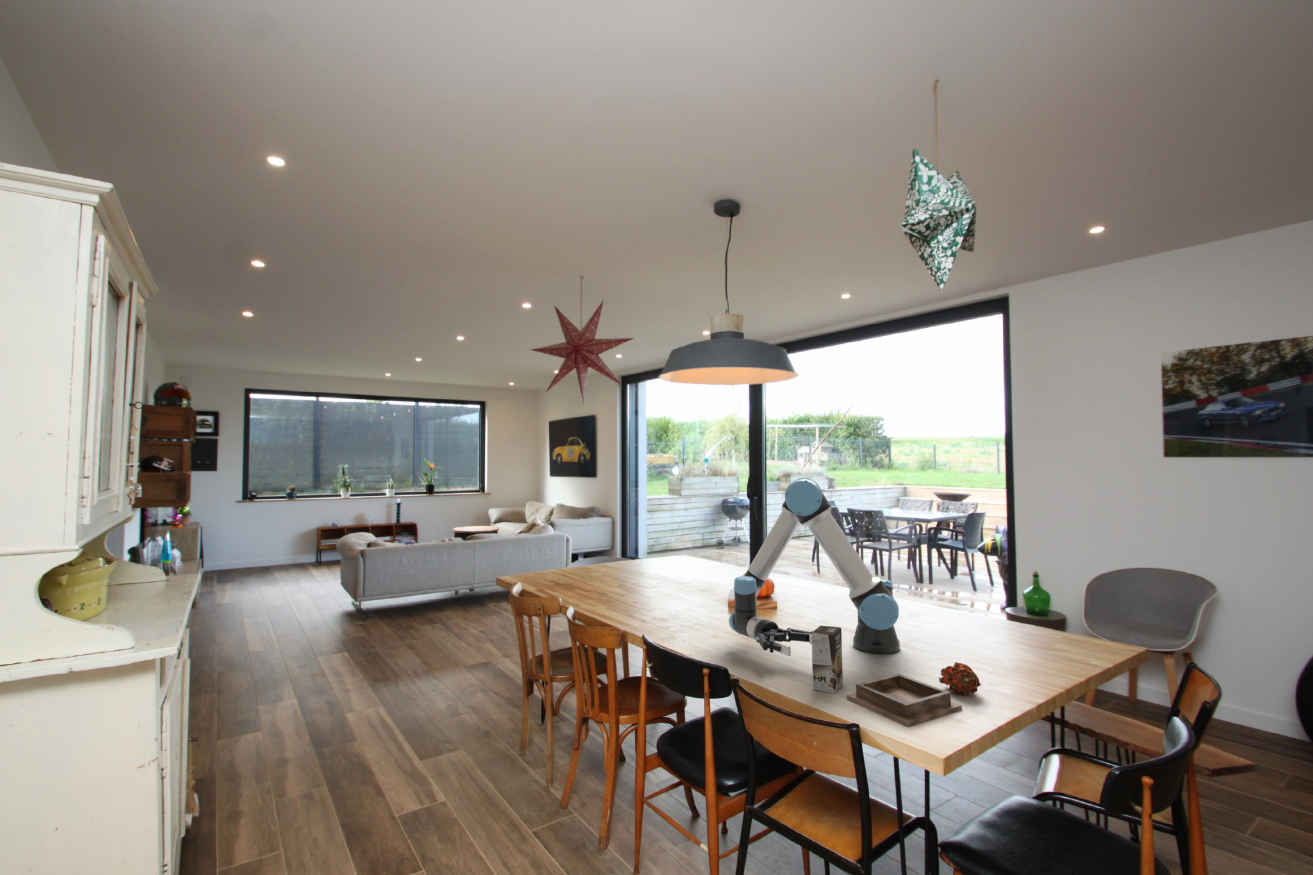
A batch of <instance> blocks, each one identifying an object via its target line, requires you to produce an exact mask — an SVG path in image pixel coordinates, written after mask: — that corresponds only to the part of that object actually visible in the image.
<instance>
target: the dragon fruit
mask: <svg viewBox="0 0 1313 875" xmlns="http://www.w3.org/2000/svg"><path fill="white" fill-rule="evenodd" d="M940 676H942V677H938V679H939V680H938V681H939V683H940V684H944V685H946V686H949V687H948V689H949V691H950V693H959V694H960V695H963V696H969V695H970V694H975V693H977V692H978V688H979V687H980V686H982V683H980V679H979V676H977V673H975V672H974V670H973V669H972V668H971V667H970V666H969V665H968V664H964V663H962V662H957V661H955V662H954V664H953V665H952V666H951V665H949V666H948V665H947V666H946V667H945V668H942V669H941V670H940Z"/></svg>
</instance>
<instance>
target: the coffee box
mask: <svg viewBox="0 0 1313 875" xmlns="http://www.w3.org/2000/svg"><path fill="white" fill-rule="evenodd" d="M812 631H813V632H812V644H811V662H812V663H811V664H812V665H811V666H812V667H811V668H812V669H811V670H812V690H815V691H819V692H825V693H829V694H835V693H836V692H837V690H839V689H840V687H842V685H843V684H844V677H843V673H844V670H843V646H842V645H843V642H842V640H843V639H842V638H843V637H842V627H839V626H832V625H830V626H829V625H819V626H818V627H817V628H815V629H814V630H812Z"/></svg>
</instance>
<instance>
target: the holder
mask: <svg viewBox="0 0 1313 875" xmlns="http://www.w3.org/2000/svg"><path fill="white" fill-rule="evenodd" d="M951 694H952V693H951V691H950V692H949V691H947V690H944V689H942V688H940V687H936V686H933V685H931V684H928V683H926V682H923V681H920V680H917V679H915V678H911V677H909V676H906V675H903V674H901V673H895V674H892V675H887V676H884V677H880V678H876V679H873V680H868V681H865V682H860V683H856V684H855V692H852V693H849V694H846V695H845V696H846V699H847V700H848V701H851V702H854V703H855V704H858V705H860V706H862V707H865V708H867V709H869V710H871V711H873V712H875V713H878V714H880V715H882V716H884V717H887V718H888V719H891V720H893V721H894V722H898V723H899V724H902V725H903V726H906V727H911V726H914V725H918V724H920V723H923V722H926V721H930V720H933V719H936V718H938V717H942V716H945V715H949V714H951V713H954V712H959V711H961V710H963V705H962V704H960V703H959V704H958V703H956V702H954V701H951V700H952V699H951V698H952V697H951Z"/></svg>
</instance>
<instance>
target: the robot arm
mask: <svg viewBox="0 0 1313 875" xmlns="http://www.w3.org/2000/svg"><path fill="white" fill-rule="evenodd" d="M781 509H782V511H781V512H780V514H779V516H778V517H777V519H776V520H775V523H774V524H773V526H772V528H771V529H770V531H769V533H768V534H767V536H766V538H765V540H764V541H763V543H762V545H761V546H760V548H759V550H758V551H757V554H756V555H755V557H754V558H753V560H752V562H751V564H750V565H749V567H748V568H747V570H746V572H745V574H744V575H743V576H742V575H741V576H736V577H735V578H734V581H733V590H734V591H733V593H734V595H733V596H734V611H732V612H731V614H730V616H729V618H728V624H729V627H730V628H731V629H732V631H734V632H736V633H737V634H738V635H741V636H745V637H746V638H750V639H752V640H755V642H757V643H758V644H759V645H760V647H761V648H762V650H763V651H768V649H769V653H771V654H772V653H774V652H775V651H776V652H777V653H780V654H781V655H785V656H786V657H791V651H792V650H791V649H792V648H791V646H790V645H788V644H785V643H783V642H788V643H790V642H791V641H792V642H801V643H802V642H805V643H809V645H812V632H813V631H814V630H811V631H809V630H808V631H807V630H803V629H795V628H791V627H786V629H783V628H780V627H779V625H778V624H777V623H776V622H775V621H772V620H770V619H767V618H764V617H761V616H758V613H757V610H758V607H757V606H758V605H757V602H758V601H757V600H758V599H757V597H758V595H759V594H760V592H761V590H762V588H763V586H764V585H765V583H766V581H767V580H768V578H769V577H770V575H771V573H772V571H773V570H774V569H775V567H776V565H777V563H778V562H779V559H780V558H781V557H782V554H783V553H784V551H786V550H785V549H786V548H787V546H788V545H789V543H790V541H791V539H792V538H793V536H794V535H795V533H796V531H797V530H798V528H799V526H800V525H801V526H804V527H807V528H808V529H809V531H811V533H812V534H813V536H814V538H815V539H816V540H817V543H818V544H819V545H820V547H821V548H822V550H823V552H824V553H825V554H826V556H827V557H828V559H829V560H830V562H831V563H832V565H833V567H834V568H835V570H836V571H837V573H838V574H839V575H840V577H841V578H842V580H843V582H844V584H845V585H846V586H847V588H848V590H849V594H848V597H849V599H850V601H851V602H852V604H853V605H854V607H855V608H856V611H857V624H856V628H855V632H854V636H853V637H852V638H853V639H852V645H853V647H854V648H855V649H857V650H860V651H861V652H866V653H873V654H894V653H897V652H899V651H900V650H901V642H900V639H899V638H898V635H897V631H896V627H895V624H896V622H897V620H898V619H899V614H900V608H899V604H898V602H896V600H895V598H894V596H893V594H894V593H893V592H894V591H893V590H894V586H893V583H892V581H891V580H888V579H881V578H879V577H876V576H873V574H872V573H871V571H870V570H869V568H868V567H867V565H866V564H865V561H863V559H862V558H861V556H860V555H859V553H858V552H857V550H856V549H855V548H854V546H853V544H852V542H851V541H850V540H849V539H848V537H847V535H846V534H845V533H844V531H843V530H842V528H841V526H840V525H839V524H838V522H837V521H836V519H835V518H834V516H833V515H832V505H831V503H830V501H829V500H828V499H827V497H826V496H825V495H824V493H823V492H822V490H821V487H820V486H819V484H818V483H817V482H816V481H814V480H813V479H811V478H809V477H801V478H798V479H796V480H793V481H792V482H790V484H789V485H787V487H786V490H785V492H784V501H783V503H782V505H781Z"/></svg>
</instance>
